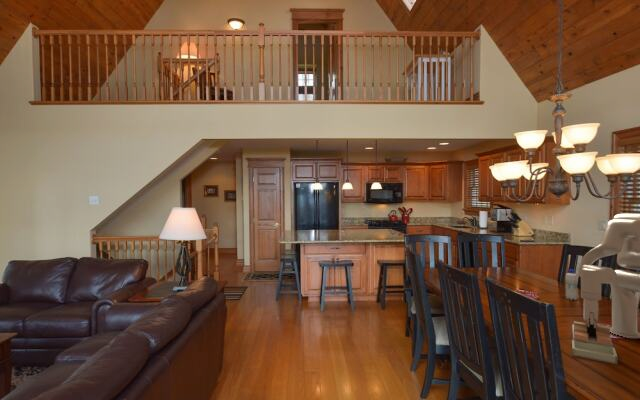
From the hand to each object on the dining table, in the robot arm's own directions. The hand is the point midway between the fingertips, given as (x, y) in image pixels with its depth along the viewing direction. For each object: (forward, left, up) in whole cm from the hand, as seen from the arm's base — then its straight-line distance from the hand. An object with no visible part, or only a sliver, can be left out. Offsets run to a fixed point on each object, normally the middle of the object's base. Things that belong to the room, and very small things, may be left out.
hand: (591, 334), depth 163 cm
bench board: (-4, -1, -5) cm, 7 cm away
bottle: (-73, -33, -5) cm, 80 cm away
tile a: (+2, +5, -1) cm, 6 cm away
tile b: (+6, -2, -1) cm, 6 cm away
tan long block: (0, 0, -1) cm, 1 cm away
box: (+11, +4, -5) cm, 13 cm away
